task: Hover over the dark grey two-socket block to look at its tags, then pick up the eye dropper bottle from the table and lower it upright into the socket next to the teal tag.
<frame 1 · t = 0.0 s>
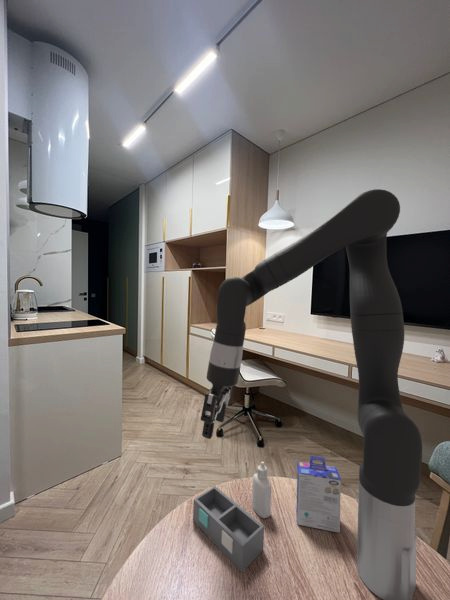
hand: (213, 428, 60), 22 cm above the table, tool pointing down, fingers open, 8 cm apart
eye dropper bottle: (260, 510, 64), on the table
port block: (226, 534, 57), on the table
ink cartridge box: (316, 521, 62), on the table
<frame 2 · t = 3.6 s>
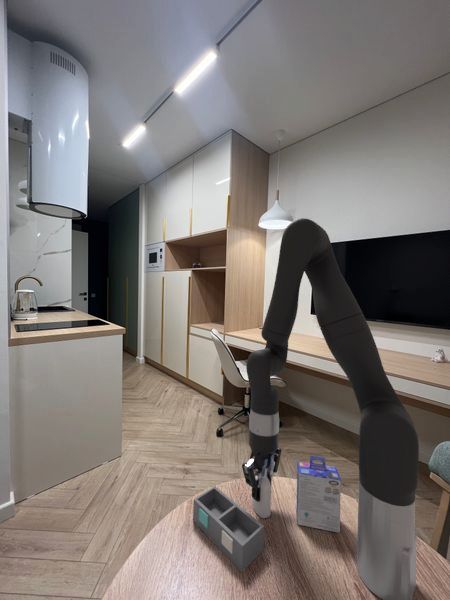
hand: (261, 494, 65), 4 cm above the table, tool pointing down, fingers closed on eye dropper bottle, 3 cm apart
eye dropper bottle: (260, 510, 64), on the table, touching gripper
everything else where it was.
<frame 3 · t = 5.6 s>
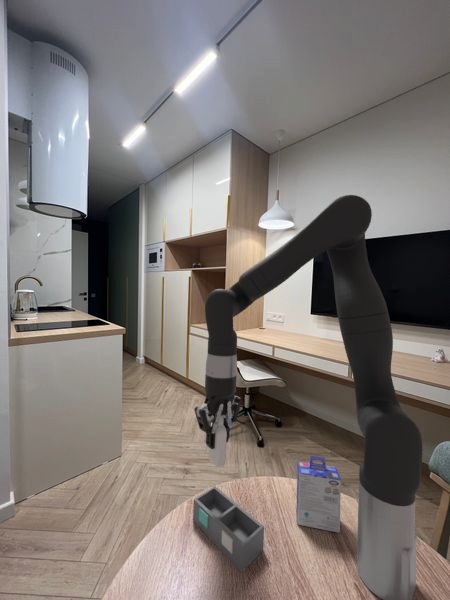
hand: (217, 443, 61), 18 cm above the table, tool pointing down, fingers closed on eye dropper bottle, 3 cm apart
eye dropper bottle: (216, 460, 61), point 15 cm above the table, touching gripper
everything else where it was.
when the fingers open (6 cm above the table, at t = 7.7 s): eye dropper bottle stays where it is, resting on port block.
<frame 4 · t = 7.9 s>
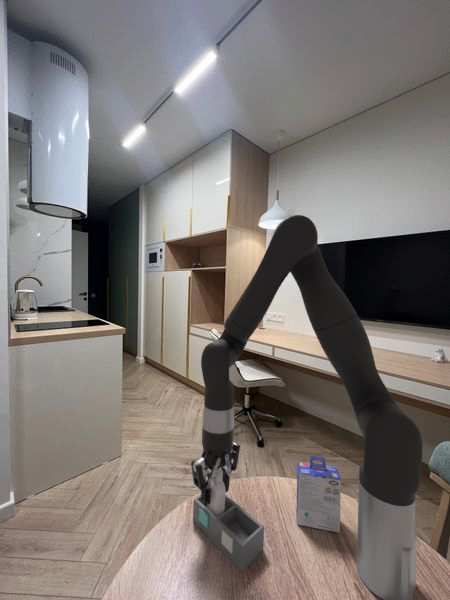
hand: (215, 495, 60), 6 cm above the table, tool pointing down, fingers open, 5 cm apart
eye dropper bottle: (214, 517, 60), point 1 cm above the table, touching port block
everything else where it was.
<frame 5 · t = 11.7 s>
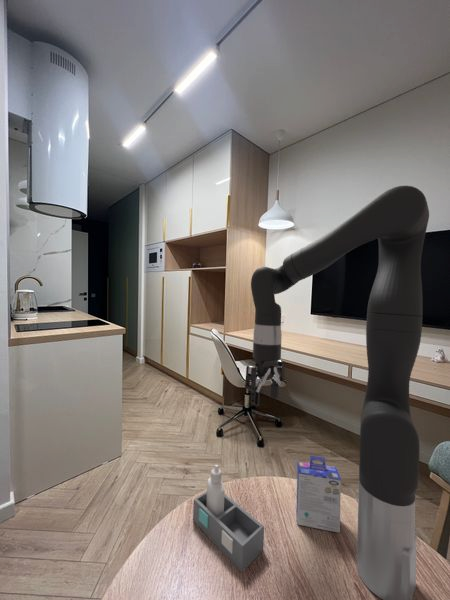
hand: (265, 401, 68), 26 cm above the table, tool pointing down, fingers open, 8 cm apart
nothing on the table moved.
at the end: eye dropper bottle 0.1 cm from the target spot on the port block, point 1.3 cm above the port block's base; eye dropper bottle tilted 0°; the gripper is holding nothing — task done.
